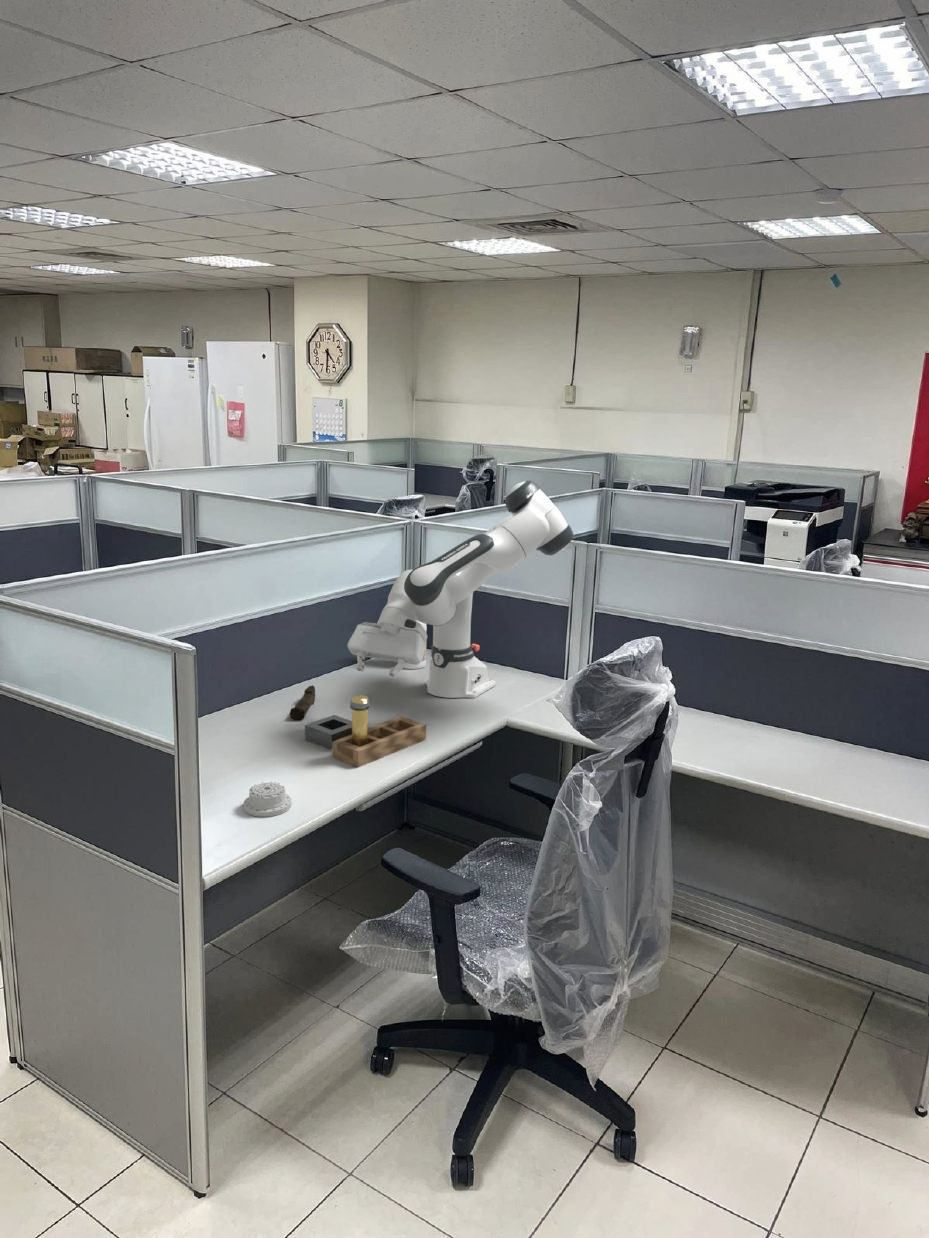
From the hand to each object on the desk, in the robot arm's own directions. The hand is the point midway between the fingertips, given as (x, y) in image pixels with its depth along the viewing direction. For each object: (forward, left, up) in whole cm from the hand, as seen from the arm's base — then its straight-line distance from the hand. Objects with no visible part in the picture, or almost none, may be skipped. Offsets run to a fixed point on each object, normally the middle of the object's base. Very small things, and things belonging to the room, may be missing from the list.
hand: (375, 672), depth 222 cm
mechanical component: (+42, +9, -19) cm, 47 cm away
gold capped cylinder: (+10, +4, -18) cm, 21 cm away
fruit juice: (-55, -38, -18) cm, 69 cm away
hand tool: (-3, -32, -19) cm, 37 cm away
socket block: (+6, -9, -18) cm, 21 cm away
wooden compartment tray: (+2, +4, -18) cm, 19 cm away
